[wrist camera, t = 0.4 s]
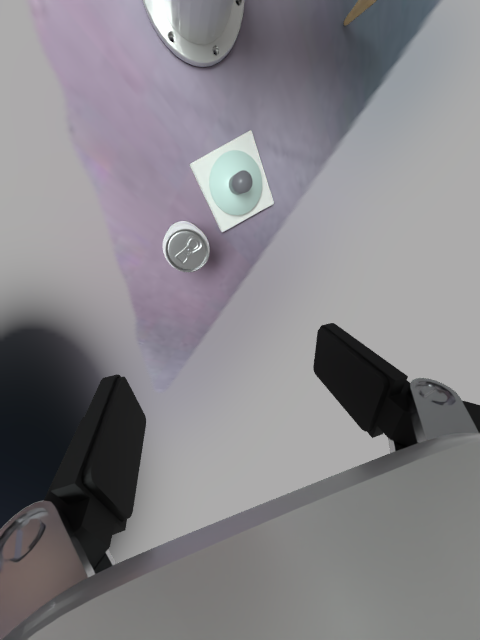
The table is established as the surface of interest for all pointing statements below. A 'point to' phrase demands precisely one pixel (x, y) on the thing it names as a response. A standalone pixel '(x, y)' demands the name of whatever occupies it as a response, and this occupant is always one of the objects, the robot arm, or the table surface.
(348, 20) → the ice cream cone
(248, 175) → the lid
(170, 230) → the can
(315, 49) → the table surface
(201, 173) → the mat
